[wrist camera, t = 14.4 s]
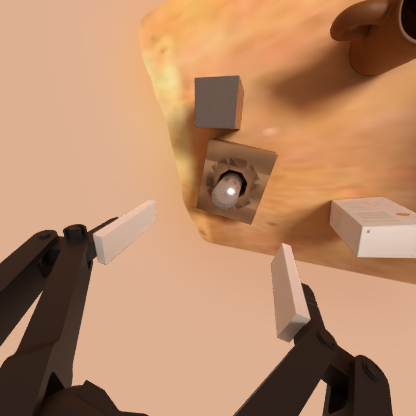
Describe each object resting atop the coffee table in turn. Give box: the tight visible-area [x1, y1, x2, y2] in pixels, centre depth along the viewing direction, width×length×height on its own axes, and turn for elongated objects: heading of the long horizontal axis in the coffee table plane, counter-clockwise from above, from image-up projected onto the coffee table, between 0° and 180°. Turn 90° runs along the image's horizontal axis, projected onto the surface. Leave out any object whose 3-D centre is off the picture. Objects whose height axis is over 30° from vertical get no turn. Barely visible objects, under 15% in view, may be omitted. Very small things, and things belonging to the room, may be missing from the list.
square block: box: [195, 76, 244, 129], centre depth 26 cm, size 6×6×9 cm
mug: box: [330, 0, 416, 75], centre depth 19 cm, size 12×8×9 cm, turn 92°
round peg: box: [212, 170, 244, 209], centre depth 30 cm, size 4×4×12 cm
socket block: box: [196, 138, 278, 225], centre depth 33 cm, size 14×12×5 cm
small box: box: [329, 196, 416, 258], centre depth 27 cm, size 8×6×10 cm
